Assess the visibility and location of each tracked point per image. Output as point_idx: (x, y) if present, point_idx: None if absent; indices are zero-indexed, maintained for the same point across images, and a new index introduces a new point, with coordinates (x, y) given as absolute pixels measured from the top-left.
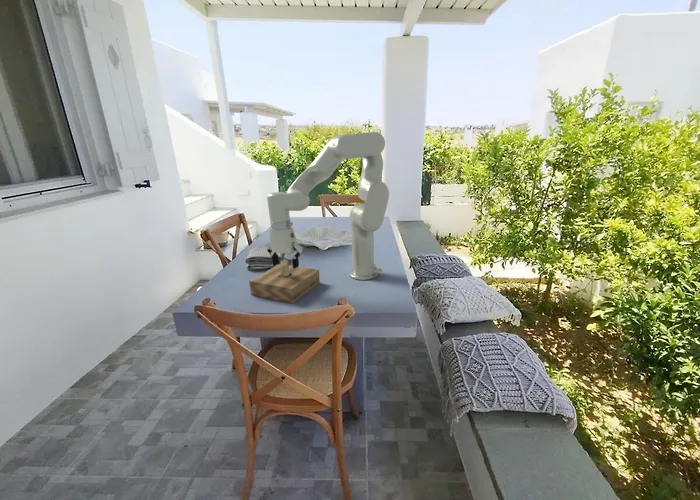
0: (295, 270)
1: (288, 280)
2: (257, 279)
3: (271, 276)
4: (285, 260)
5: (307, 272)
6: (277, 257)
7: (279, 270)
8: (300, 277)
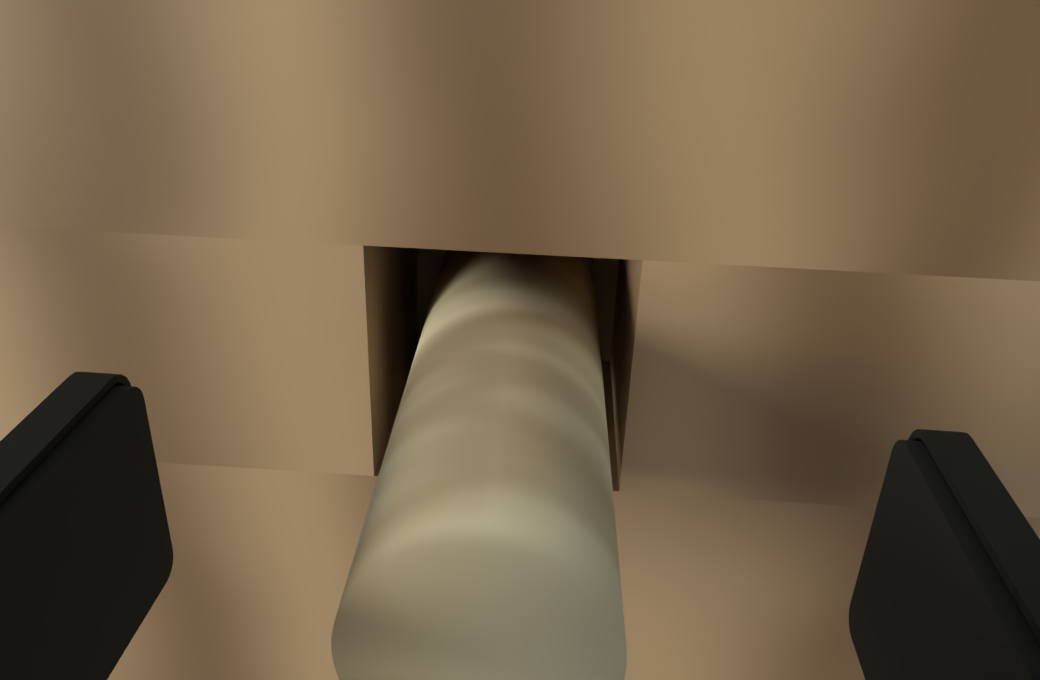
0: (584, 12)
1: (728, 579)
2: (117, 676)
3: (254, 513)
4: (463, 580)
5: (1021, 38)
6: (24, 567)
7: (154, 163)
8: (935, 390)
